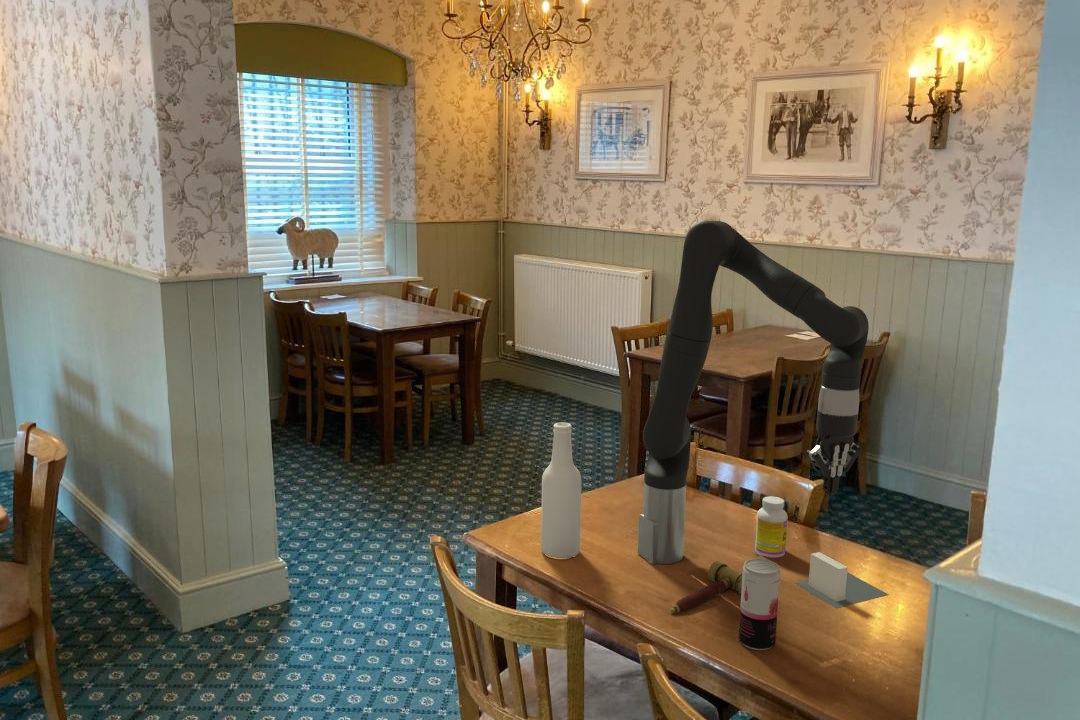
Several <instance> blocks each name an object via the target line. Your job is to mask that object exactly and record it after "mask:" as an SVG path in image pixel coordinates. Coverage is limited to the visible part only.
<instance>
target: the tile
mask: <svg viewBox="0 0 1080 720" xmlns="http://www.w3.org/2000/svg"><path fill="white" fill-rule="evenodd" d="M809 560H810V561H809V562H810V563H809V571H808V572H809V573H808V580H809V584H808V585H809V586H810V587H812V588H814V589H815V590H817V591H819V592H820V593H822V594H824V595H826V596H827V597H829V598H831V599H832V600H834V601H836V602H838V601H842V600H845V591H846V580H847V572H848V566H846V565H844V564H842V563H840V562H839V561H837V560H835V559H832V558H831V557H829V556H827V555H825V554H824V553H822V552H820V551H817V552H813V553H810V558H809Z"/></svg>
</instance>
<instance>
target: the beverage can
mask: <svg viewBox="0 0 1080 720" xmlns="http://www.w3.org/2000/svg"><path fill="white" fill-rule="evenodd" d="M780 568H781V567H780V565H779V564H778V563H777V562H774V561H773V560H770V559H766V558H750V559H748V560H745V561H744V563H743V566H742V573H743V574H742V591H741V594H740V596H741V597H740V607H739V608H740V610H739V623H738V625H739V626H738V640H739V642H740V643H741V644H742V645H743V646H744V647H746V648H747V649H751V650H755V651H767V650H770V649H771V648H772V647H774V646H775V645H776V641H777V640H776V637H777V625H778V623H777V622H778V610H779V599H780V598H779V593H780V584H781V583H780V582H781V570H780Z"/></svg>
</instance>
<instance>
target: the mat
mask: <svg viewBox="0 0 1080 720" xmlns="http://www.w3.org/2000/svg"><path fill="white" fill-rule="evenodd" d="M794 584H795V585H797V586H798V587H800V588H802V590H805V591H806V592H809V593H810V594H811V595H814V596H815V597H816V598H818V599H820V600H822V601H823V602H825V603H826V604H829V605H830V606H832V607H834V608H835V609H839V608H840V609H841V608H844V607H846V606H851V605H855V604H858V603H862V602H866V601H871V600H874V599H878V598H881V597H885V596H889V595H890V594H889V593H887V592H885V591H883V590H881V589H880V588H877V586H874V585H872V584H871V583H868V582H866V581H865V580H863V579H861V578H859V577H858V576H855V575H853V574H851V573H850V572H848V571H847V580H846V591H845V600H842V601H838V602H836V601H834V600H832V599H831V598H829V597H827V596H826V595H824V594H822V593H820V592H819V591H817V590H815V589H814V588H812V587H810V586H809V585H808V584H809V579H807V580H802V581H799V582H798V581H797V582H795V583H794Z"/></svg>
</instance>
